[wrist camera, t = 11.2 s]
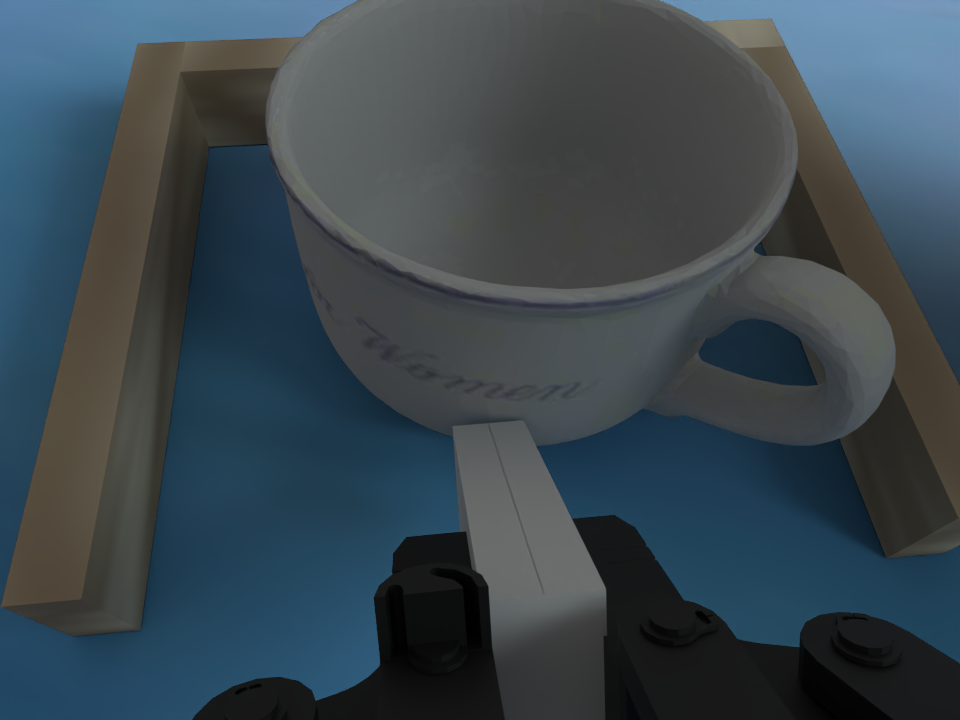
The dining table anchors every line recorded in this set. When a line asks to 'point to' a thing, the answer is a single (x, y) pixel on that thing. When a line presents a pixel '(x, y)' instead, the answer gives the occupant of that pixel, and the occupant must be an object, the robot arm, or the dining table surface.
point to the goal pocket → (163, 299)
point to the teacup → (557, 219)
